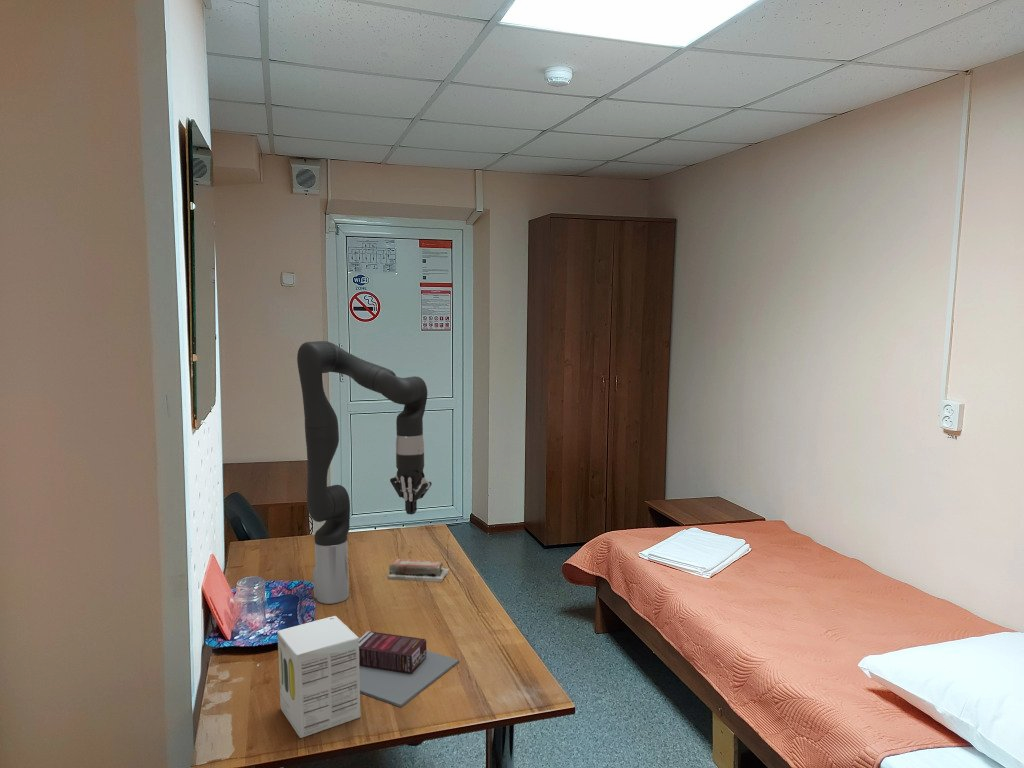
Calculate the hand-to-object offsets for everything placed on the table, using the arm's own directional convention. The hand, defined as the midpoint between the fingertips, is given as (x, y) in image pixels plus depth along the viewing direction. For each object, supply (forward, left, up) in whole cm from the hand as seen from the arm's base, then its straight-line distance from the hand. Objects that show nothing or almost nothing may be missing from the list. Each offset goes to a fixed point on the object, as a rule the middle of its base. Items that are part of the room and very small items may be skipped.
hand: (411, 513), depth 191 cm
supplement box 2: (+3, -26, -26) cm, 37 cm away
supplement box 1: (+12, -47, -29) cm, 57 cm away
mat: (+16, -26, -29) cm, 42 cm away
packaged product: (-17, +25, -30) cm, 42 cm away
